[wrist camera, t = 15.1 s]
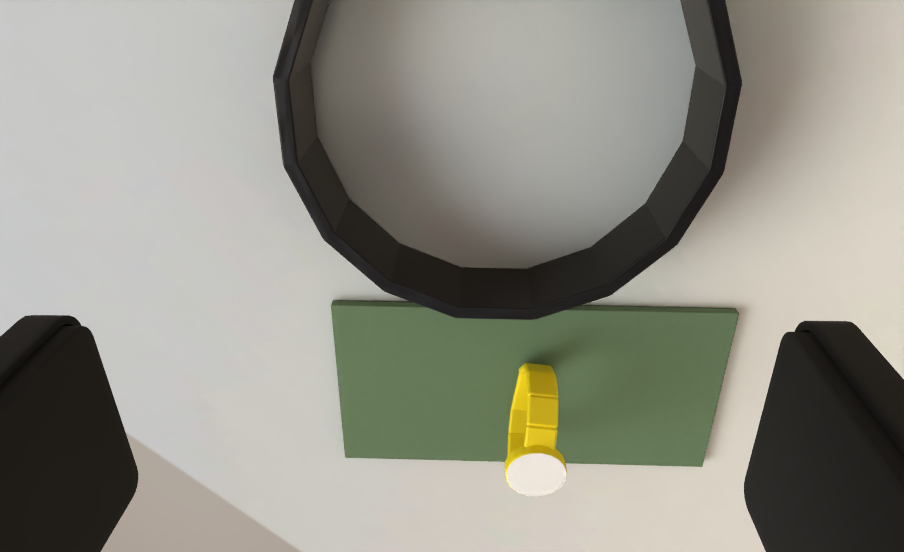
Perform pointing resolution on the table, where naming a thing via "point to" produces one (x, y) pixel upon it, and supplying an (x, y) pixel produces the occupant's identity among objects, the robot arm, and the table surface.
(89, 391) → the robot arm
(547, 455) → the watch
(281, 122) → the pan
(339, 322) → the mat
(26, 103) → the table surface
